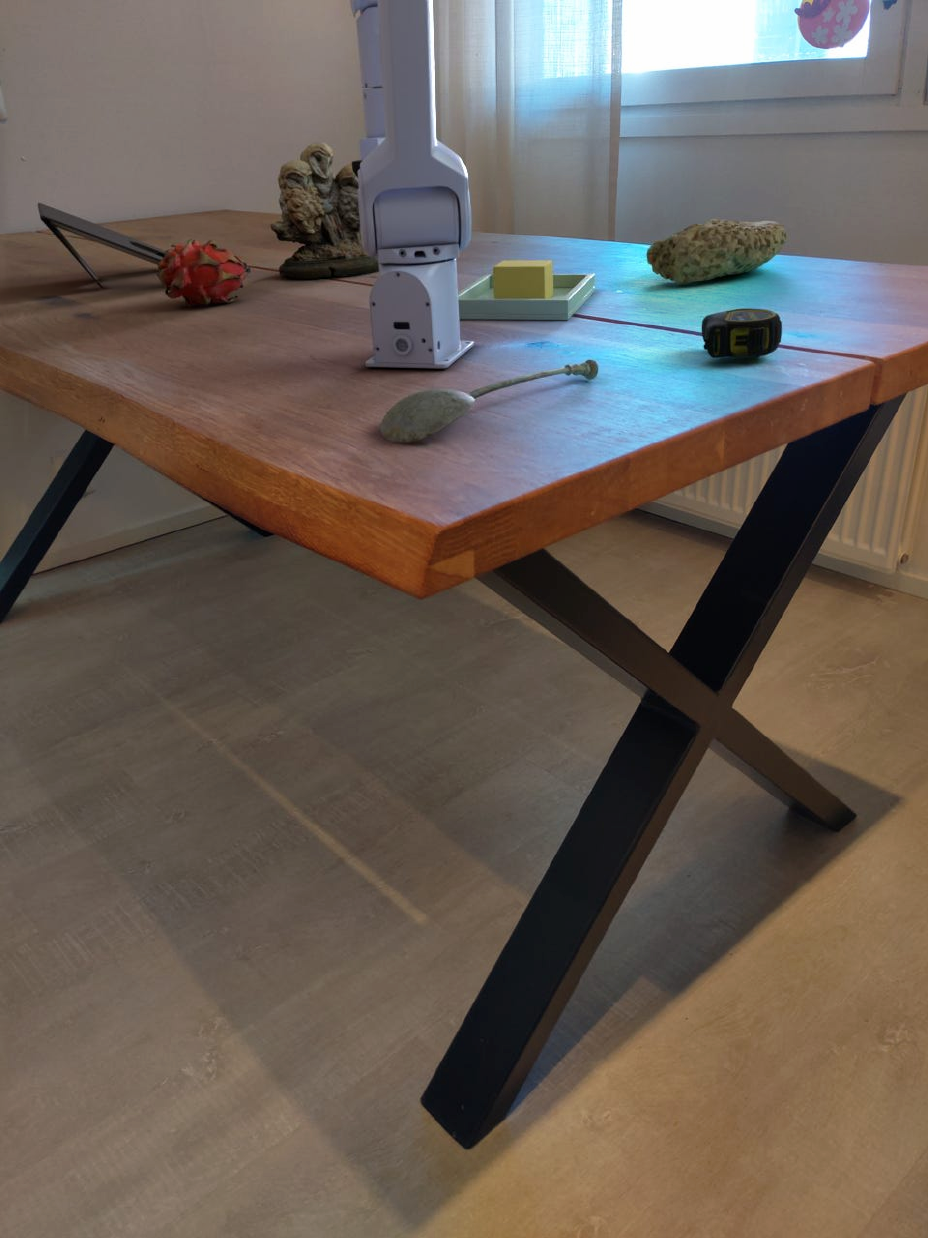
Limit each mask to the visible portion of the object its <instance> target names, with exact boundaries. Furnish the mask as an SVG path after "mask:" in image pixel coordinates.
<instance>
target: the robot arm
mask: <svg viewBox="0 0 928 1238" xmlns="http://www.w3.org/2000/svg"><path fill="white" fill-rule="evenodd" d="M433 3H434V2H433V0H349V5H350V10H351V12H352V16H353V18H356V14H357V13H358V12H359V14H360V15H359V16H358V18H357V19H356V20H355V23H356V34H357V35H356V36H357V47H358V57H359V59H358V60H359V68H360V69H359V70H360V71H359V72H360V81H361V82H360V83H361V92H362V107H363V118H364V129H365V136H364V137H362V138H359V139H358V140H359V141H358V143H359V151H360V152H359V153H360V159H358V160H352V161H351V164H352V170H353V172H354V174H355V175H356V177H357V178H358V184H359V189H358V205H359V217H360V227H361V237H362V245H363V250H364V251H365V252H366V253H367V254H368V255H369V256H370V257H375V253H376V258H377V261H378V266H379V271H378V277H377V279H376V280H375V281H374V283H373V284H372V287H371V289H370V293H369V300H368V301H369V302H368V303H369V314H370V326H371V337H372V346H373V348H372V349H373V356H372V357H370V358H369V359H367V360H366V361H365V363H364V364H365V367H367V368H395V369H396V368H401V369H438V370H439V369H447V368H449V367H450V366H451V365H453V364H454V363H455V362H457V360H458V359H459V358H461V357H462V356H463V355H464V354H466V352H468V351H469V350H470V349H471V348H472V347H474V345H475V343H474V342H475V341H473V340H461V326H460V319H459V304H458V292H459V286H458V266H457V265H458V264H457V259H459V258H460V251H465V250H466V248H467V247H468V246H469V244H470V243H471V239H472V206H471V197H470V190H469V176H468V171H467V167H466V165H465V164H464V162H463V160H462V158H461V157H460V155H458V154H457V153H456V152H455V151H453V150H452V149H451V148H449V147H448V146H447V145H445V144H444V143H442V142H441V141H439V140H438V139H437V131H436V129H437V127H436V92H435V91H436V90H435V89H436V88H435V85H436V84H435V49H434V44H435V43H434V7H433V5H434V4H433Z"/></svg>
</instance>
